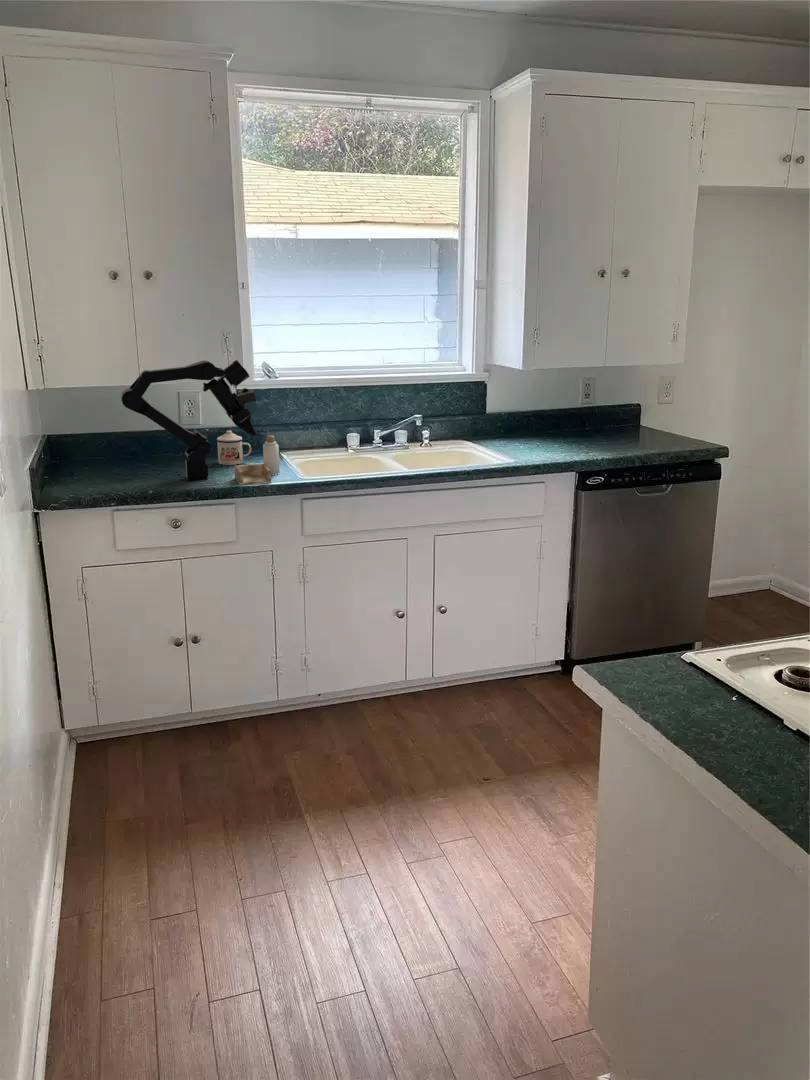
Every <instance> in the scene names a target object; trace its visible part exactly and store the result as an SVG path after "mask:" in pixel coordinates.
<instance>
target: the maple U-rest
mask: <svg viewBox="0 0 810 1080" xmlns="http://www.w3.org/2000/svg"><path fill="white" fill-rule="evenodd" d="M235 478H236V479H235ZM234 479H235V480H236V481H237V483H238V482H239V483H238V484H239V485H240V486H248V485H247V484H250V485H257V484H256V483H264V484H266V483H265V482H271V483H272V475H271V470H270V469H269V468H268V467H267V466H266V465H265V464H264V463H257V464H242V465H241V464H239V465H234Z"/></svg>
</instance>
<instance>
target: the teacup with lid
mask: <svg viewBox="0 0 810 1080" xmlns="http://www.w3.org/2000/svg"><path fill="white" fill-rule="evenodd" d="M216 442H217V443H216V444H217V458H218V459H217V461H218V464H219V465H221V464H223V465H222V466H237V465H236V464H239V465H241V464H243V463H244V457H247V456H249V455H250V454H251V452H252V446H251V444H250V443H248V442H243V437H242V436H240V435H237V434H235V433H233V431H232V430H226V433H224V434H222V435H221V436H218V437H217V438H216ZM244 445H245V446H248V452H247V453H244V454H243V446H244Z"/></svg>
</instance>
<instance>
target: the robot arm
mask: <svg viewBox="0 0 810 1080" xmlns="http://www.w3.org/2000/svg"><path fill="white" fill-rule="evenodd" d="M216 378H217V379H216ZM248 378H250V374H249V373H248V371H247V370H246V368H245V367H243V365H241V363H240V362H239V360H237V359H235V360H233V361H232V362H231V363H230V364H229V365H227V366H226V367H225V368H224V369H223V368H222V367H217V366H215V364H213V362H210V361H208V360H200V361H198V362H194V363H191V364H188V365H186V366H178V367H171V368H161V369H152V370H147V369H145V370H142V371H141V373H140V374H139V376H138V377H137V378H136V380H135V381H134V382H133V383H132V384H131V385H130V387H129V388H125V389H124V390H123V391H122V392H121V395H120V399H121V403H122V404H123V407H125V408H126V409H128V410H130V411H133V412H135V413H138V414H140V415H142V416H144V417H147V418H148V419H149V420H151V421H152V422H154V423H155V424H157V425H158V426H160V427H161V428H163V429H164V430H165V431H168V433H170V434H171V435H173V436H175V437H176V438H177V439H179V440H180V441H181V442H183V444H185V446H187V447H188V448H187V449H186V450H185V451H184V454H185V456H186V459H185V473H186V475H185V478H186V480H187V481H198V480H209V479H208V477H209V464H208V463H207V460H206V457H207V456H208V455H209V454H211V450H212V446H211V444H210V442H209V441H208V438H207V436H206V435H204V434H202V433H200V432H199V431H198V430H197V428H196V429H194V430H193V431H190V430H188V429H187V428H185V427H183V426H182V425H180V424H179V423H177V421H174V420H173V419H172V418H171V417H169V416H167V415H166V414H165V413H163V412H161V411H160V410H158V408H155V406H153V405H152V404H151V403H150V402H148V400H147V399H145V397H143V396H144V394H145V393H146V392H147V390H148V389H149V387H150V385H152V384H155V383H161V382H162V383H164V382H172V381H173V382H174V381H180V380H197V381H198V380H199V381H208V382H202V384H203V385H202V391H203V392H207V391H208V390H209V391H210V392H211V393H212V395H213V396H214V397H215V399H216V400H217V401H218V403H219V404H220V406H221V407H222V408H223V410H224V411H225V414H226V415H227V416H228V418H229V419H230V420H231V421H232V422H233V424H234V425H235V426H236V427H237V428H240V429H241V430H242V431H244V432H245V433H248V434H249V435H250V436H252V437H256V435H257V433H256V431H255V429H254V427H253V424H252V422H251V417H252V413H251V412H250V410H249V409H248V408H247V407H245V405H246V404H249V403H255V402H257V401H258V400H257V396H256V393H255V391H254V390H249V389H248V388H247V387H245V388H242V389H241V392H240V393H239V394H237V393H236V392H235V391H233V390H232V389H231V387H230V386H235V387H238V386H239V385H240V384H241V383H243V382H244V381H246V380H247V379H248ZM226 381H227V382H226ZM229 385H230V386H229Z"/></svg>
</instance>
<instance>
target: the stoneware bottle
mask: <svg viewBox="0 0 810 1080" xmlns="http://www.w3.org/2000/svg"><path fill="white" fill-rule="evenodd" d="M279 448H280V447H279V443H277V441H276V440H275V435H266V441H264V443H263V445H262V451H263V455H262V456H263V464H265V465H266V466H267V467H268V468H269V469H270V470H271V476H274V475H273V474H278V473H280V449H279ZM280 474H281V473H280ZM278 475H279V474H278Z"/></svg>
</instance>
